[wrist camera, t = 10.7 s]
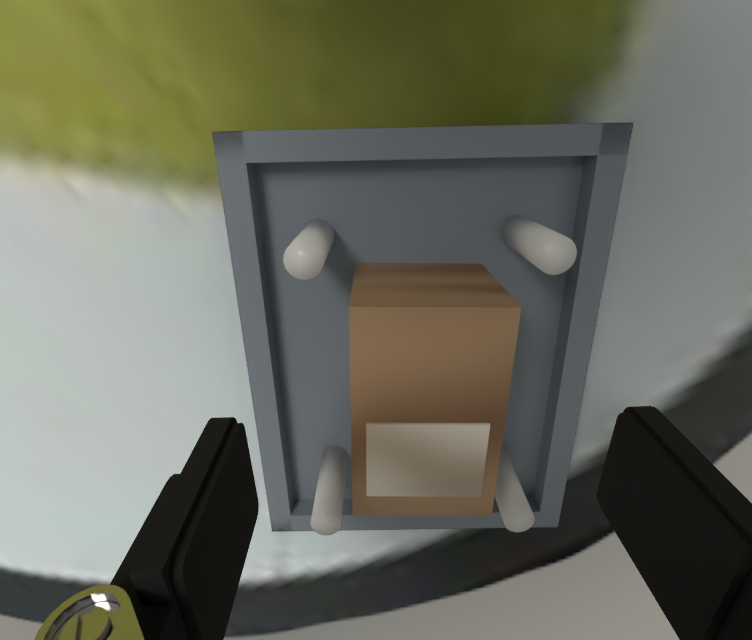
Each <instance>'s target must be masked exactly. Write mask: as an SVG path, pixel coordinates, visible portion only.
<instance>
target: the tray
mask: <svg viewBox="0 0 752 640" xmlns="http://www.w3.org/2000/svg"><path fill="white" fill-rule="evenodd" d="M632 127H633V122H631V123H585V124H540V125H494V126H449V127H403V128H358V129H312V130H266V131H221V132H212V134H213V140H214V147H215V154H216V160H217V167H218V174H219V180H220V187H221V194H222V200H223V207H224V214H225V220H226V227H227V234H228V240H229V247H230V254H231V260H232V267H233V274H234V280H235V287H236V294H237V300H238V307H239V314H240V320H241V327H242V334H243V341H244V347H245V354H246V361H247V367H248V374H249V381H250V387H251V394H252V401H253V407H254V414H255V421H256V427H257V434H258V441H259V447H260V454H261V461H262V467H263V474H264V481H265V487H266V494H267V501H268V507H269V514H270V521H271V527H272V531H315V532H317V533H318V534H321V535H332V534H334V533H336V532H337V531H339V530H399V529H463V528H507V529H508V530H510V531H512V532H523V531H526V530H528V529H529V528H530V527H558V524H559V518H560V513H561V508H562V502H563V497H564V492H565V486H566V481H567V476H568V470H569V465H570V460H571V454H572V449H573V443H574V438H575V433H576V427H577V422H578V417H579V411H580V406H581V401H582V395H583V390H584V385H585V379H586V374H587V368H588V363H589V358H590V352H591V347H592V342H593V336H594V331H595V326H596V320H597V315H598V310H599V304H600V299H601V293H602V288H603V283H604V277H605V272H606V267H607V261H608V256H609V251H610V245H611V240H612V235H613V229H614V224H615V218H616V213H617V208H618V202H619V197H620V192H621V186H622V181H623V176H624V170H625V165H626V160H627V154H628V149H629V144H630V138H631V133H632ZM356 263H464V264H483V265H484V267H485V268H486V269H487V270H488V271H489V272H490V273H491V274H492V275H493V277H494V278H495V279H496V280H497V281H498V282H499V283H500V284H501V286H502V287H503V288H504V289H505V290H506V291H507V292H508V293H509V294H510V296H511V297H512V298H513V299H514V300H515V301H516V302H517V303H518V304H519V306H520V307H521V314H520V321H519V328H518V335H517V342H516V349H515V356H514V363H513V370H512V377H511V384H510V391H509V398H508V405H507V412H506V420H505V427H504V434H503V441H502V448H501V455H500V462H499V469H498V476H497V483H496V490H495V497H494V504H493V511H492V516H353V506H352V454H351V401H350V349H349V302H350V296H351V290H352V284H353V278H354V272H355V266H356Z"/></svg>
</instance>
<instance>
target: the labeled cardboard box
mask: <svg viewBox="0 0 752 640" xmlns="http://www.w3.org/2000/svg"><path fill="white" fill-rule="evenodd" d="M520 314H521V307H520V306H519V304H518V303H517V302H516V301H515V300H514V299H513V298H512V297H511V296H510V294H509V293H508V292H507V291H506V290H505V289H504V288H503V287H502V286H501V284H500V283H499V282H498V281H497V280H496V279H495V278H494V277H493V275H492V274H491V273H490V272H489V271H488V270H487V269H486V268H485V267H484V265H483V264H464V263H356V266H355V272H354V278H353V284H352V290H351V296H350V302H349V349H350V401H351V454H352V506H353V516H492V511H493V504H494V497H495V490H496V483H497V476H498V469H499V462H500V455H501V448H502V441H503V434H504V427H505V420H506V412H507V405H508V398H509V391H510V384H511V377H512V370H513V363H514V356H515V349H516V342H517V335H518V328H519V321H520Z"/></svg>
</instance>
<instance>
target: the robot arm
mask: <svg viewBox="0 0 752 640" xmlns="http://www.w3.org/2000/svg"><path fill="white" fill-rule="evenodd" d="M597 498H598V502H599V505H600V507H601V509H602V511H603V512H604V514H605V516H606V517H607V519H608V521H609V522H610V524H611V526H612V527H613V529H614V531H615V532H616V534H617V536H618V537H619V539H620V540H621V542H622V544H623V546H624V547H625V549H626V551H627V552H628V554H629V556H630V557H631V559H632V561H633V562H634V564H635V565H636V567H637V569H638V571H639V572H640V574H641V575H642V577H643V579H644V581H645V582H646V584H647V586H648V587H649V589H650V591H651V592H652V594H653V595H654V597H655V599H656V601H657V602H658V604H659V606H660V607H661V609H662V611H663V612H664V614H665V616H666V617H667V619H668V621H669V622H670V624H671V626H672V627H673V629H674V631H675V632H676V634H677V636H678V637H679V639H680V640H752V504H751V503H750V502H749V501H748V499H747V498H746V497H744V496H743V495H742V493H741V492H739V490H738V489H737V488H735V487H734V486H733V485H732V483H731V482H730V481H729V480H727V478H725V476H724V475H722V473H721V472H720V471H719V470H718V469H717V468H716V467H715V466H714V465H713V464H712V463H711V462H710V461H709V460H708V459H707V458H706V457H705V456H704V455H703V454H702V453H701V452H700V451H699V450H698V449H697V448H696V447H695V446H694V445H693V444H692V443H691V442H690V441H689V440H688V439H687V438H686V437H685V436H684V435H683V434H682V433H681V432H680V431H679V430H678V429H677V428H676V427H675V426H674V425H673V424H672V423H671V422H670V421H669V420H668V419H667V418H666V417H665V416H664V415H663V414H662V413H661V412H660V411H659V410H658V409H656V408H655V407H652V406H639V407H627V408H626V409H625V410H624V412H623V413H620V414H619V415H618V417H617V420H616V424H615V428H614V431H613V435H612V439H611V443H610V446H609V450H608V454H607V457H606V461H605V465H604V469H603V472H602V476H601V480H600V484H599V487H598V492H597ZM258 507H259V506H258V497H257V491H256V486H255V481H254V475H253V470H252V465H251V459H250V454H249V448H248V443H247V438H246V432H245V427H244V425H243V423H237V420H236V419H235V418H234V417H230V418H211V419H210V420H209V421H208V423H207V425H206V426H205V428H204V430H203V432H202V434H201V436H200V438H199V440H198V442H197V444H196V445H195V447H194V449H193V451H192V453H191V455H190V457H189V459H188V461H187V462H186V464H185V466H184V468H183V470H182V472H181V474H174V475H172V476H171V477H170V478H169V480H168V481H167V482H166V484H165V486H164V488H163V490H162V491H161V493H160V495H159V497H158V499H157V500H156V502H155V504H154V506H153V508H152V509H151V511H150V513H149V515H148V517H147V518H146V520H145V522H144V524H143V526H142V528H141V529H140V531H139V533H138V535H137V537H136V538H135V540H134V542H133V544H132V546H131V547H130V549H129V551H128V553H127V555H126V556H125V558H124V560H123V562H122V564H121V565H120V567H119V569H118V571H117V573H116V574H115V576H114V578H113V580H112V582H111V584H110V585H99V586H95V587H90V588H88V589H86V590H84V591H82V592H79V593H77V594H75V595H74V596H72V597H71V598H69V599H68V600H67V601H65V602H64V603H62V604H61V605H60V606H59V607H58V608H57V609H56V610H55V611H54V612H53V613H52V614H51V615H50V616H49V617H48V618H47V619H46V621H45V622H44V624H43V625H42V626H41V628H40V629H39V631H38V633H37V635H36V638H35V640H223V639H224V635H225V631H226V628H227V624H228V621H229V617H230V613H231V610H232V606H233V603H234V599H235V595H236V592H237V588H238V585H239V581H240V577H241V574H242V570H243V567H244V563H245V559H246V556H247V552H248V549H249V545H250V541H251V538H252V534H253V530H254V527H255V523H256V520H257V516H258Z"/></svg>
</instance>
